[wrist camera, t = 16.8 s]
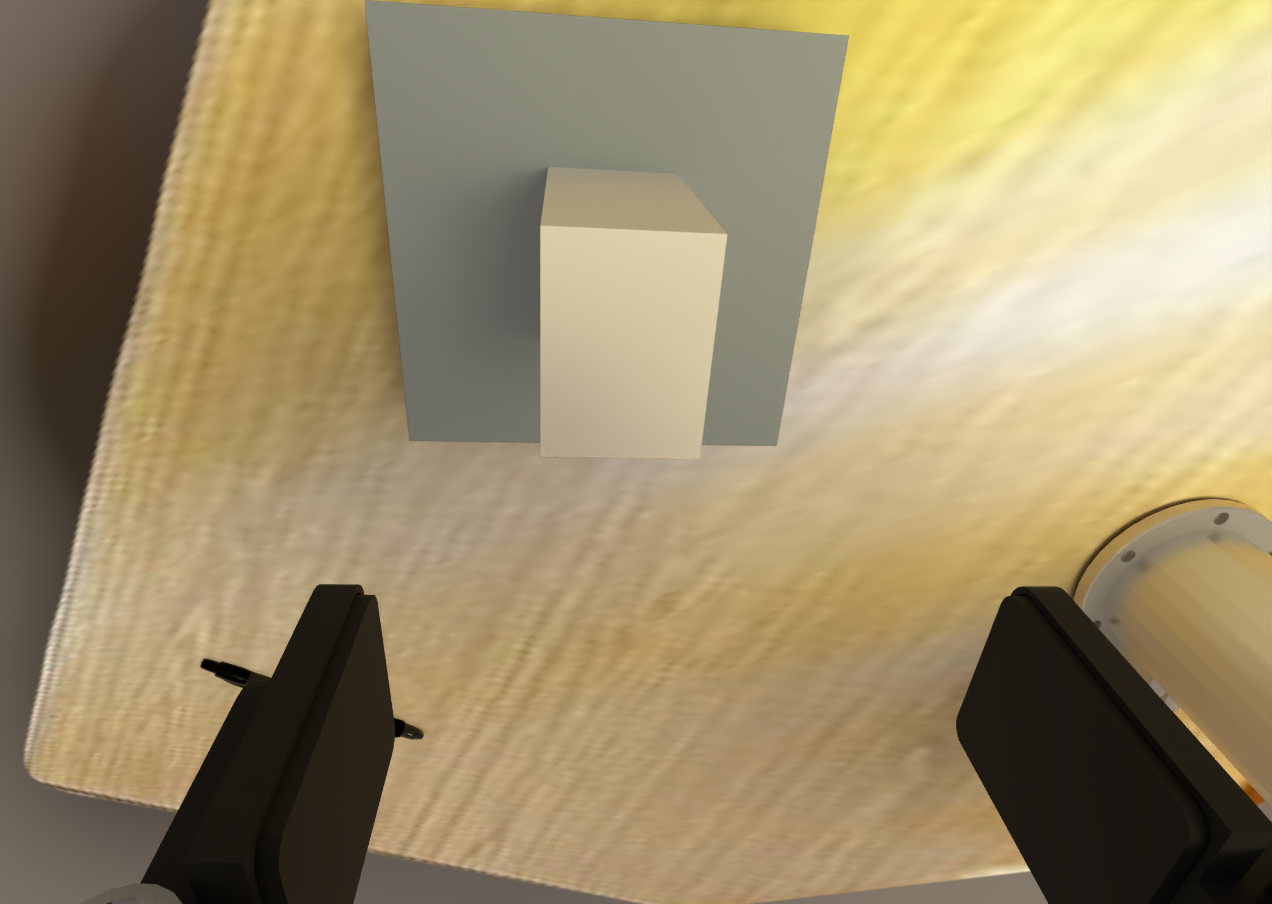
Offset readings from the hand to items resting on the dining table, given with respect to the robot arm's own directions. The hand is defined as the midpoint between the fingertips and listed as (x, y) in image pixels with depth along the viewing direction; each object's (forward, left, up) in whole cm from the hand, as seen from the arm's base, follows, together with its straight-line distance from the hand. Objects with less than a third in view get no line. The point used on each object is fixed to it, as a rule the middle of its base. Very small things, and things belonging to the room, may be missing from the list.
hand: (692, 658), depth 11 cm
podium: (0, 0, -26) cm, 26 cm away
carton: (0, 0, -22) cm, 22 cm away
